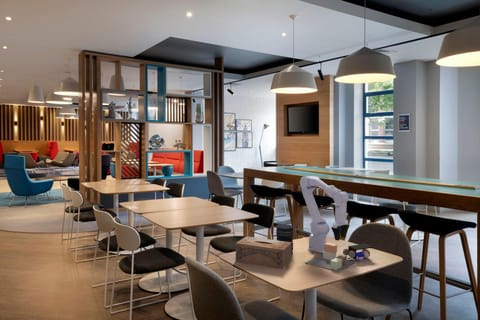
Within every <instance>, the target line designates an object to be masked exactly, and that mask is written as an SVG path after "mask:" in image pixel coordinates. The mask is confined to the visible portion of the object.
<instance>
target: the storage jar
mask: <svg viewBox="0 0 480 320" xmlns="http://www.w3.org/2000/svg"><path fill="white" fill-rule="evenodd" d="M294 231H295V230H294V225H291V224H285V223H283V224H282V223H281V224H277V225H276V229H275V235H276V240H277V241H284V242H292V245H291V255H293V253H294V233H295V232H294Z"/></svg>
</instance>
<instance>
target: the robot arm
mask: <svg viewBox="0 0 480 320" xmlns="http://www.w3.org/2000/svg"><path fill="white" fill-rule="evenodd" d="M299 185H300V188H301V190H302V191H301V193H302V196H303V199H304V201H305V205H306V207H307V210H308V213H309V215H310V218H311V222H310V224H309V225H310V232H311V234H309V237H308V249H307V250H308V251H312V252H315V253H319V254H323V251H324V244H325V243H327V236H328V234H329V232H330V229H331V230H332V233H333V238H334V240H335V241H337V242H338V241H340V240H341V238H343V239H346V236H347V233H348V229H349V228H350V224H349V220H348V219H347V204H348V203H347V202H348V201H349V200H350V195H349V193H348V192H346V191H342V190H341V189H339V188H337V187H335V185H333V184H331V185H328V184H327V183H325V182H324V181H323V180H321V179H320V177H319V176H316V175H309V176H306V175H305V176H302V177H300V180H299ZM317 187H318V188H320V189H322V191H325V194H326V195H327V196H328V197H330V198H331V199H333V202H334V205H335V210H334V211H335V214H334V215H335V216H334V217H335V219H334V223H333V224H332V226H331V227H330V226H329V224H328V223H327V221H326V219H324V218H323V217H322V215H321V213H320V211H319V207H318V204H317V203H316V199H315V197H314V194H313V192H314V191H315V189H316V188H317Z"/></svg>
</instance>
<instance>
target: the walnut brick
mask: <svg viewBox="0 0 480 320" xmlns="http://www.w3.org/2000/svg"><path fill="white" fill-rule="evenodd" d="M336 258H339V259H342V266H343V265H345V264H346V263H347V260H348V259H347V258H348V255H347V256H346V255H344V254H340V255H336Z"/></svg>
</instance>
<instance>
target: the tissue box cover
mask: <svg viewBox="0 0 480 320" xmlns="http://www.w3.org/2000/svg"><path fill="white" fill-rule="evenodd" d="M291 245H292V242H284V241H277V239H268V238H262V237H254V236H245V237H243V238H242V239H239V240H238V241H237V242H235V262H238V263H244V264H249V265H256V266H262V267H269V268H275V269H279V268H280V270H284V269H285V267H287V265H288V264H290V262H291V261H292V254H291ZM283 268H284V269H283Z"/></svg>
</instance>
